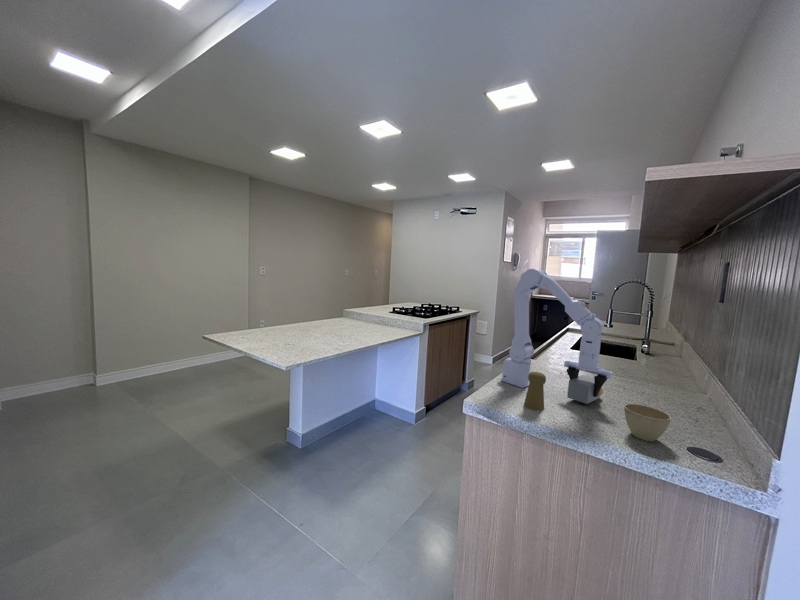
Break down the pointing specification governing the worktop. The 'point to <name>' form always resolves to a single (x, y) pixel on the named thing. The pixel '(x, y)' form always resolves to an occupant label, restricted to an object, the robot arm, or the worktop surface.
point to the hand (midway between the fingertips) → (584, 392)
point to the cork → (535, 391)
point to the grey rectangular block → (582, 389)
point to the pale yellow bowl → (646, 421)
